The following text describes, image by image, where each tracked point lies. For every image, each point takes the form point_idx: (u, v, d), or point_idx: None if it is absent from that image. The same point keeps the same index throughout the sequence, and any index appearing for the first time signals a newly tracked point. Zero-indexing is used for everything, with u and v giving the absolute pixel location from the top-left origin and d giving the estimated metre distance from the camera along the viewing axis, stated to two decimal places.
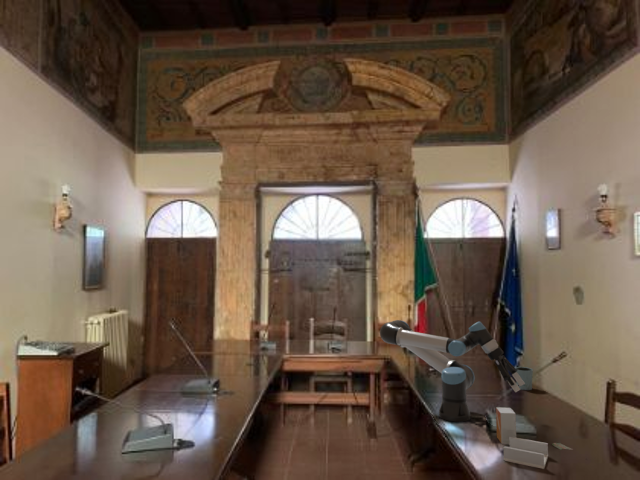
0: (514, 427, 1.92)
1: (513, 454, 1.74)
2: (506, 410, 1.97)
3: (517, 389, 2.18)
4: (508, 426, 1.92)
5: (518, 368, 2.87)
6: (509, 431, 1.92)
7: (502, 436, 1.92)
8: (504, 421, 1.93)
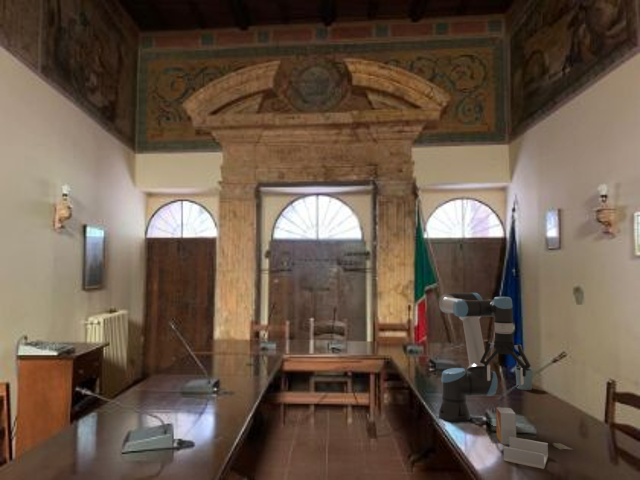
0: (514, 427, 1.92)
1: (513, 454, 1.74)
2: (506, 410, 1.97)
3: None
4: (508, 426, 1.92)
5: (518, 368, 2.87)
6: (509, 431, 1.92)
7: (502, 436, 1.92)
8: (504, 421, 1.93)
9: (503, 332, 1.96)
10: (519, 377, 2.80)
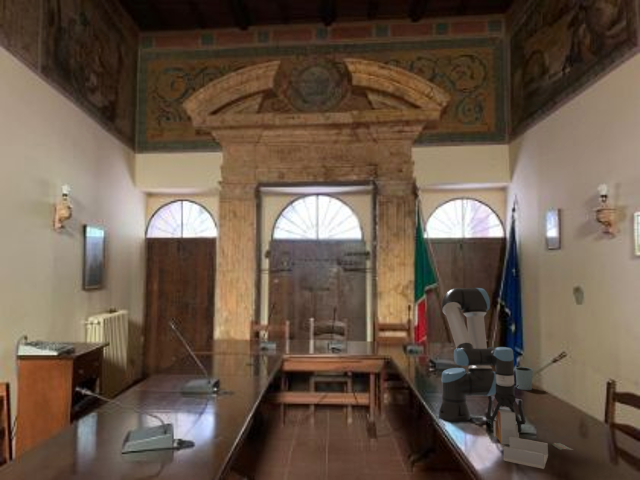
0: (514, 426, 1.92)
1: (513, 454, 1.74)
2: (506, 410, 1.97)
3: None
4: (508, 426, 1.92)
5: (518, 368, 2.87)
6: (508, 431, 1.92)
7: (502, 436, 1.92)
8: (504, 421, 1.93)
9: (504, 384, 1.94)
10: (519, 377, 2.80)
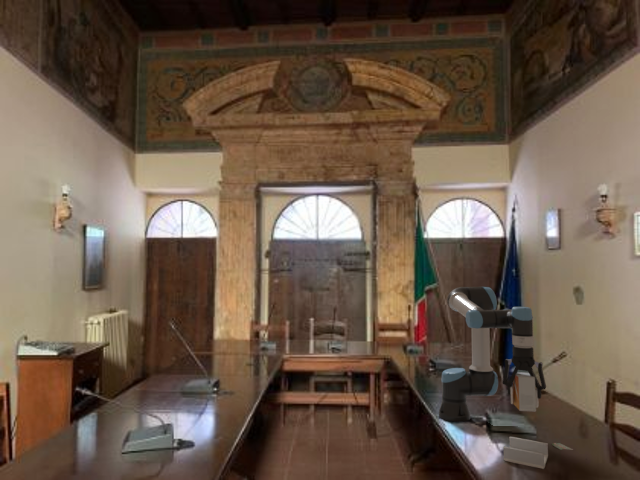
0: (533, 392, 1.75)
1: (513, 454, 1.74)
2: (524, 374, 1.80)
3: None
4: (527, 391, 1.75)
5: None
6: (527, 396, 1.75)
7: (520, 402, 1.76)
8: (523, 385, 1.76)
9: (522, 346, 1.77)
10: None
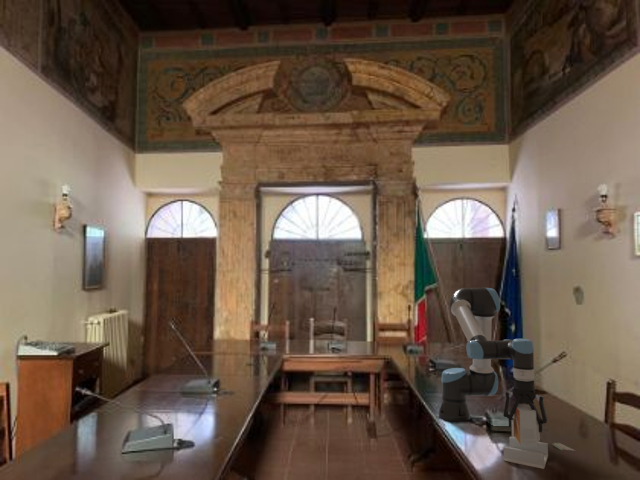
0: (534, 426, 1.74)
1: (513, 454, 1.74)
2: (525, 407, 1.79)
3: None
4: (528, 425, 1.75)
5: None
6: (528, 430, 1.74)
7: (521, 436, 1.75)
8: (524, 419, 1.75)
9: (523, 379, 1.77)
10: None
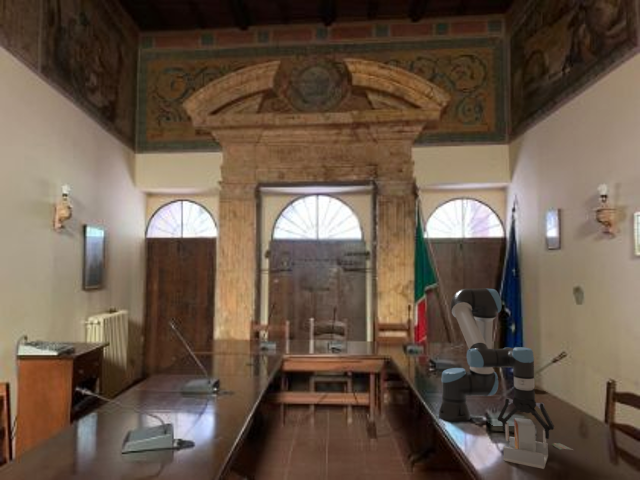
0: (533, 440, 1.74)
1: (513, 454, 1.74)
2: (525, 421, 1.79)
3: None
4: (527, 440, 1.74)
5: None
6: (527, 444, 1.74)
7: None
8: (522, 433, 1.75)
9: (523, 388, 1.76)
10: None
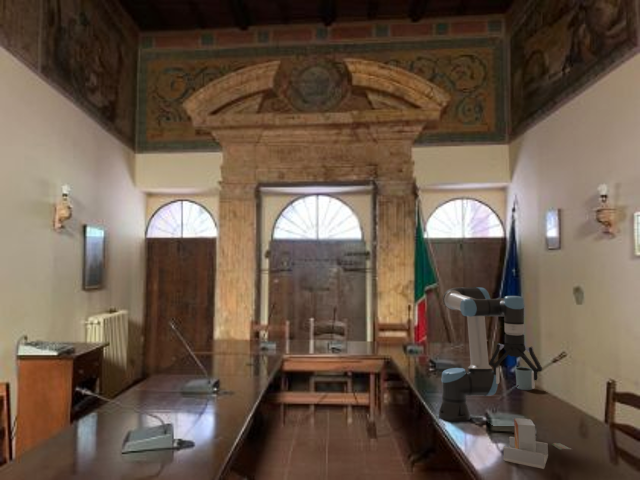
0: (533, 440, 1.74)
1: (513, 454, 1.74)
2: (525, 421, 1.79)
3: None
4: (527, 440, 1.74)
5: (518, 368, 2.87)
6: (527, 444, 1.74)
7: None
8: (522, 433, 1.75)
9: (514, 333, 1.86)
10: (519, 377, 2.80)
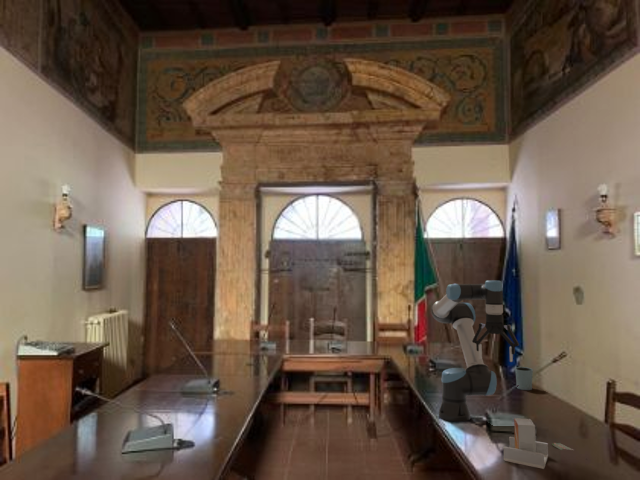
0: (533, 440, 1.74)
1: (513, 454, 1.74)
2: (525, 421, 1.79)
3: None
4: (527, 440, 1.74)
5: (518, 368, 2.87)
6: (527, 444, 1.74)
7: None
8: (522, 433, 1.75)
9: (493, 313, 2.09)
10: (519, 377, 2.80)
